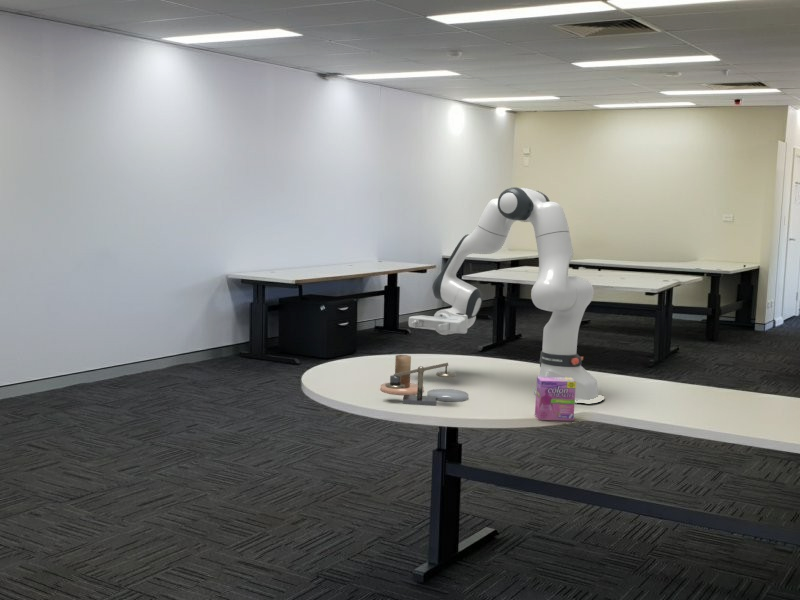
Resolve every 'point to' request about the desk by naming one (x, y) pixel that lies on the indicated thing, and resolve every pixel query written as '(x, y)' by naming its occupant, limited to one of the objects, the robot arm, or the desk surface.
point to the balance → (418, 398)
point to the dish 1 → (401, 390)
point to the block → (403, 368)
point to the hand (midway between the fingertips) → (425, 326)
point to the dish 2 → (448, 395)
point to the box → (555, 398)
